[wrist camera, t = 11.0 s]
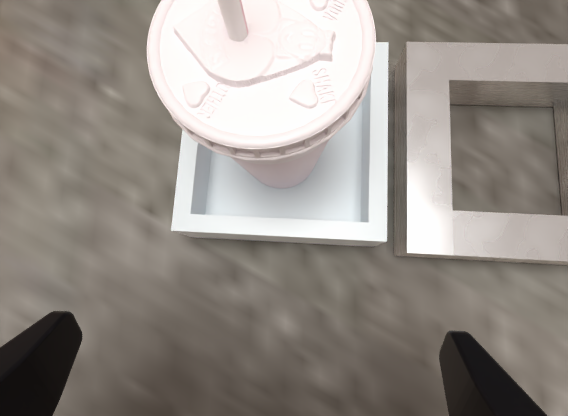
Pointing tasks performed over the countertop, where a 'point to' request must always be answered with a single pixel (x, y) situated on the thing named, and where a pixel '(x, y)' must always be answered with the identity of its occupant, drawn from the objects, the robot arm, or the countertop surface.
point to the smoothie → (262, 77)
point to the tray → (301, 198)
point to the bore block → (437, 148)
